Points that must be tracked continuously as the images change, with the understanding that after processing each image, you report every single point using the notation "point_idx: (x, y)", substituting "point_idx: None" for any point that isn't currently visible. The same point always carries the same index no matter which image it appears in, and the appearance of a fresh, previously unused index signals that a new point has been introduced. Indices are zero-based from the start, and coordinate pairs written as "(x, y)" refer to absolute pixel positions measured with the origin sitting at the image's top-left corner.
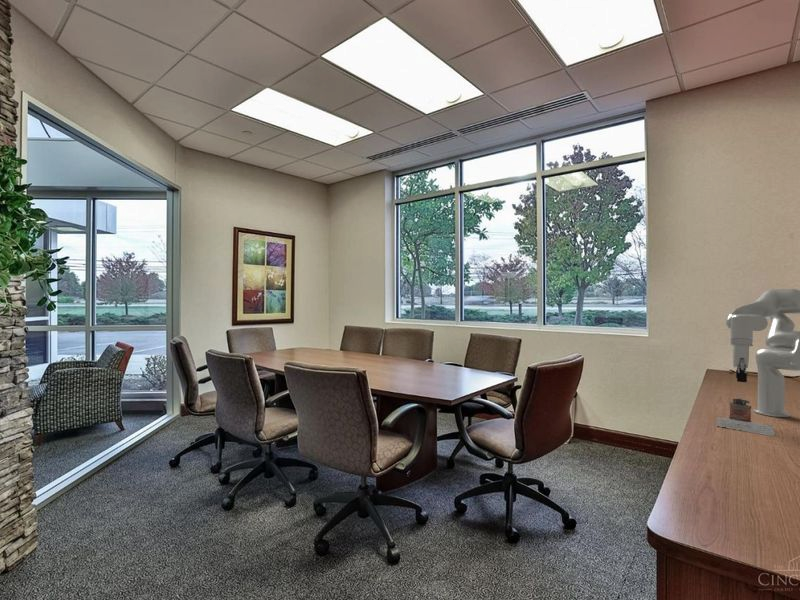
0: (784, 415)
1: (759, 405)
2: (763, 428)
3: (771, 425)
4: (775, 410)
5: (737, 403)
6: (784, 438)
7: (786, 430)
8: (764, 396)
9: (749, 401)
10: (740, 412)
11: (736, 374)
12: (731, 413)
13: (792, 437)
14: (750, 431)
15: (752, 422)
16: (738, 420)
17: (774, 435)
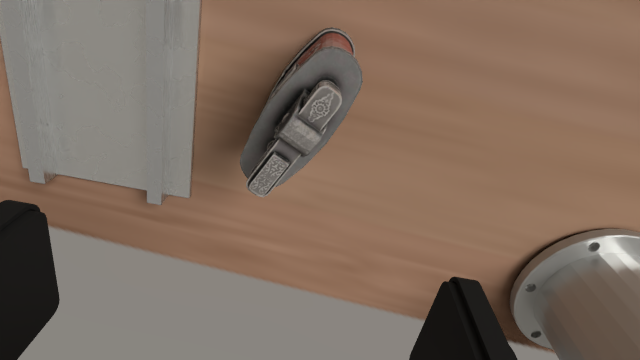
0: (517, 325)
1: (619, 277)
2: (33, 140)
3: (157, 201)
4: (544, 316)
5: (293, 105)
6: (20, 193)
7: (214, 247)
8: (628, 349)
9: (260, 195)
10: (269, 98)
11: (479, 336)
12: (315, 45)
13: (76, 230)
14: (7, 67)
15: (161, 123)
16: (158, 49)
17: (22, 165)
